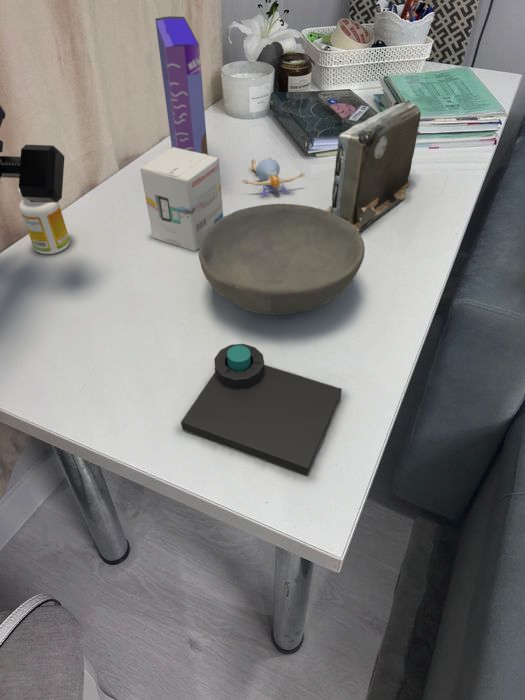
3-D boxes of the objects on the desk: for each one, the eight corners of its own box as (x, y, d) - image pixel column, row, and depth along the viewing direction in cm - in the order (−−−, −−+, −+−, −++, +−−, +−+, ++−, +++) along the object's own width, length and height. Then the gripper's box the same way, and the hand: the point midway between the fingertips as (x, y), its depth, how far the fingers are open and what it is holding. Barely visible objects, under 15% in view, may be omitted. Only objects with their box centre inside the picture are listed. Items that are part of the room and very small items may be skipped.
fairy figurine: (290, 146, 97) (309, 167, 88) (290, 172, 100) (308, 194, 90) (230, 152, 95) (243, 174, 86) (232, 178, 98) (245, 202, 89)
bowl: (286, 368, 60) (288, 317, 55) (171, 294, 71) (163, 244, 65) (385, 287, 71) (396, 238, 66) (274, 233, 82) (275, 186, 76)
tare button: (223, 367, 57) (222, 357, 56) (233, 352, 59) (233, 342, 58) (244, 374, 56) (244, 364, 55) (254, 358, 58) (254, 349, 57)
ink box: (182, 213, 86) (173, 144, 78) (225, 226, 83) (221, 155, 75) (150, 238, 81) (138, 166, 73) (196, 252, 78) (188, 179, 70)
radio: (389, 171, 97) (404, 86, 87) (430, 185, 93) (451, 98, 82) (312, 217, 85) (319, 126, 75) (355, 237, 81) (368, 142, 70)
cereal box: (211, 198, 90) (199, 43, 73) (184, 201, 89) (165, 45, 72) (197, 156, 102) (184, 15, 85) (173, 159, 101) (155, 16, 84)
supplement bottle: (66, 232, 82) (49, 174, 75) (73, 249, 78) (55, 190, 72) (31, 241, 80) (10, 182, 73) (37, 258, 77) (15, 198, 70)
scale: (180, 429, 54) (176, 411, 52) (229, 356, 62) (227, 338, 60) (307, 476, 50) (309, 458, 48) (342, 392, 58) (345, 374, 56)
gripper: (32, 73, 54) (92, 136, 69) (-137, 68, 55) (-41, 131, 70) (25, 179, 54) (86, 218, 69) (-143, 172, 55) (-46, 212, 70)
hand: (21, 193), depth 70 cm, fingers open, 9 cm apart
